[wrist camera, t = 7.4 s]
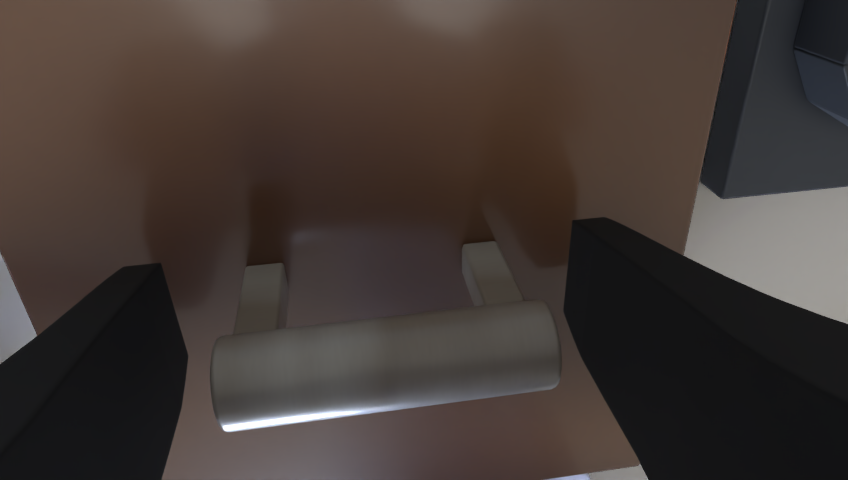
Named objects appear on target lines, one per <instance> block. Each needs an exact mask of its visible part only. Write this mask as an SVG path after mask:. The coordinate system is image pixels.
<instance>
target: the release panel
mask: <svg viewBox="0 0 848 480" xmlns="http://www.w3.org/2000/svg"><path fill="white" fill-rule="evenodd" d="M701 182H702V184H703V185H705V186H706V187H707V188H708V189H710V190H711V191H712V192H713V193H715V194H716V195H717V196H718V197H720V198H721V199H729V198H739V197H749V196H759V195H768V194H778V193H788V192H798V191H808V190H817V189H827V188H837V187H847V186H848V0H739V3H738V8H737V13H736V17H735V22H734V27H733V31H732V36H731V41H730V46H729V50H728V55H727V60H726V65H725V69H724V74H723V79H722V83H721V88H720V93H719V98H718V102H717V107H716V112H715V117H714V121H713V126H712V131H711V135H710V140H709V145H708V150H707V154H706V159H705V164H704V169H703V173H702V178H701Z"/></svg>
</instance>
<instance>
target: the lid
mask: <svg viewBox="0 0 848 480" xmlns="http://www.w3.org/2000/svg"><path fill="white" fill-rule="evenodd" d="M736 3H737V0H0V253H1V255H2V257H3V259H4V262H5V264H6V266H7V268H8V271H9V273H10V275H11V277H12V280H13V282H14V284H15V286H16V288H17V291H18V293H19V295H20V297H21V300H22V302H23V304H24V306H25V309H26V311H27V313H28V315H29V318H30V320H31V322H32V324H33V327H34V329H35V331H36V333H37V336H38V335H39V334H40V333H42V332H43V331H44V330H45V329H46V328H48V327H49V326H50V325H51V324H53V323H54V322H55V321H56V320H57V319H59V318H60V317H61V316H62V315H63V314H65V313H66V312H67V311H68V310H70V309H71V308H72V307H73V306H74V305H76V304H77V303H78V302H79V301H80V300H82V299H83V298H84V297H85V296H86V295H88V294H89V293H90V292H91V291H92V290H94V289H95V288H96V287H97V286H98V285H100V284H101V283H102V282H103V281H105V280H106V279H107V278H108V277H110V276H111V275H112V274H114V273H115V272H116V271H118V270H119V269H121V268H122V267H124V266H134V265H143V264H153V263H161V265H162V268H163V271H164V275H165V278H166V282H167V285H168V288H169V292H170V295H171V298H172V302H173V305H174V309H175V312H176V315H177V319H178V322H179V326H180V329H181V332H182V336H183V339H184V342H185V346H186V349H187V353H188V364H187V373H186V381H185V389H184V395H183V402H182V408H181V412H180V416H179V420H178V423H177V427H176V430H175V434H174V438H173V441H172V445H171V448H170V452H169V455H168V459H167V462H166V466H165V469H164V473H163V476H162V480H546V479H553V478H560V477H567V476H573V475H580V474H587V473H593V472H600V471H607V470H614V469H620V468H627V467H634V466H638V465H639V464H640V462H639V460H638V458H637V456H636V454H635V452H634V451H633V449H632V447H631V445H630V444H629V442H628V440H627V438H626V437H625V435H624V433H623V431H622V430H621V428H620V426H619V424H618V422H617V421H616V419H615V417H614V415H613V414H612V412H611V410H610V408H609V407H608V405H607V403H606V401H605V400H604V398H603V396H602V394H601V393H600V391H599V389H598V387H597V385H596V384H595V382H594V380H593V378H592V376H591V375H590V373H589V371H588V369H587V367H586V366H585V364H584V362H583V360H582V358H581V356H580V354H579V351H578V349H577V346H576V344H575V341H574V339H573V336H572V334H571V331H570V328H569V326H568V323H567V320H566V318H565V315H564V312H563V308H564V298H565V288H566V278H567V268H568V258H569V248H570V238H571V228H572V220H579V219H589V218H598V217H606V218H609V219H611V220H614V221H616V222H618V223H621V224H623V225H625V226H627V227H629V228H631V229H633V230H635V231H637V232H639V233H641V234H643V235H645V236H646V237H648V238H650V239H652V240H654V241H656V242H658V243H660V244H662V245H664V246H666V247H668V248H669V249H671V250H673V251H675V252H677V253H679V254H681V255H684V251H685V246H686V241H687V236H688V232H689V227H690V222H691V217H692V212H693V208H694V203H695V198H696V193H697V189H698V184H699V179H700V174H701V170H702V165H703V160H704V155H705V151H706V146H707V141H708V136H709V132H710V127H711V122H712V117H713V112H714V108H715V103H716V98H717V93H718V89H719V84H720V79H721V74H722V70H723V65H724V60H725V55H726V51H727V46H728V41H729V36H730V32H731V27H732V22H733V17H734V12H735V8H736Z"/></svg>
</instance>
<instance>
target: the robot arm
mask: <svg viewBox="0 0 848 480" xmlns="http://www.w3.org/2000/svg"><path fill="white" fill-rule="evenodd" d="M563 312H564V315H565V318H566V320H567V323H568V326H569V328H570V331H571V334H572V336H573V339H574V341H575V344H576V346H577V349H578V351H579V354H580V356H581V358H582V360H583V362H584V364H585V366H586V367H587V369H588V371H589V373H590V375H591V376H592V378H593V380H594V382H595V384H596V385H597V387H598V389H599V391H600V393H601V394H602V396H603V398H604V400H605V401H606V403H607V405H608V407H609V408H610V410H611V412H612V414H613V415H614V417H615V419H616V421H617V422H618V424H619V426H620V428H621V430H622V431H623V433H624V435H625V437H626V438H627V440H628V442H629V444H630V445H631V447H632V449H633V451H634V452H635V454H636V456H637V458H638V460H639V462H640V464H641V466H642V468H643V470H644V472H645V474H646V475H647V477H648V479H649V480H848V324H846V323H843V322H840V321H837V320H833V319H830V318H827V317H825V316H822V315H819V314H816V313H814V312H811V311H808V310H806V309H803V308H800V307H797V306H795V305H792V304H789V303H787V302H784V301H781V300H779V299H776V298H774V297H771V296H769V295H767V294H764V293H762V292H759V291H757V290H755V289H753V288H750V287H748V286H746V285H744V284H741V283H739V282H737V281H735V280H733V279H730V278H728V277H726V276H724V275H722V274H719V273H717V272H715V271H713V270H711V269H709V268H707V267H705V266H703V265H701V264H699V263H697V262H695V261H693V260H691V259H689V258H687V257H685V256H683V255H681V254H679V253H677V252H675V251H673V250H671V249H669V248H668V247H666V246H664V245H662V244H660V243H658V242H656V241H654V240H652V239H650V238H648V237H646V236H645V235H643V234H641V233H639V232H637V231H635V230H633V229H631V228H629V227H627V226H625V225H623V224H621V223H618V222H616V221H614V220H611V219H609V218H606V217H598V218H589V219H579V220H572V228H571V238H570V248H569V258H568V268H567V278H566V288H565V298H564V308H563ZM187 364H188V353H187V349H186V346H185V342H184V339H183V336H182V332H181V329H180V326H179V322H178V319H177V315H176V312H175V309H174V305H173V302H172V298H171V295H170V292H169V288H168V285H167V282H166V278H165V275H164V271H163V268H162V265H161V263H153V264H143V265H134V266H124V267H122V268H121V269H119V270H118V271H116V272H115V273H114V274H112V275H111V276H110V277H108V278H107V279H106V280H105V281H103V282H102V283H101V284H100V285H98V286H97V287H96V288H95V289H94V290H92V291H91V292H90V293H89V294H88V295H86V296H85V297H84V298H83V299H82V300H80V301H79V302H78V303H77V304H76V305H74V306H73V307H72V308H71V309H70V310H68V311H67V312H66V313H65V314H63V315H62V316H61V317H60V318H59V319H57V320H56V321H55V322H54V323H53V324H51V325H50V326H49V327H48V328H46V329H45V330H44V331H43V332H42V333H40V334H39V335H38V336H37V337H35V338H34V339H33V340H32V341H30V342H29V343H28V344H26V345H25V346H24V347H22V348H21V349H20V350H18V351H17V352H16V353H14V354H13V355H12V356H10V357H9V358H8V359H7V360H5V361H4V362H3V363H1V364H0V480H162V476H163V473H164V469H165V466H166V462H167V459H168V455H169V452H170V448H171V445H172V441H173V438H174V434H175V430H176V427H177V423H178V420H179V416H180V412H181V408H182V402H183V395H184V389H185V381H186V373H187ZM546 480H590V476H589V474H588V473H587V474H580V475H573V476H567V477H560V478H553V479H546Z"/></svg>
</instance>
